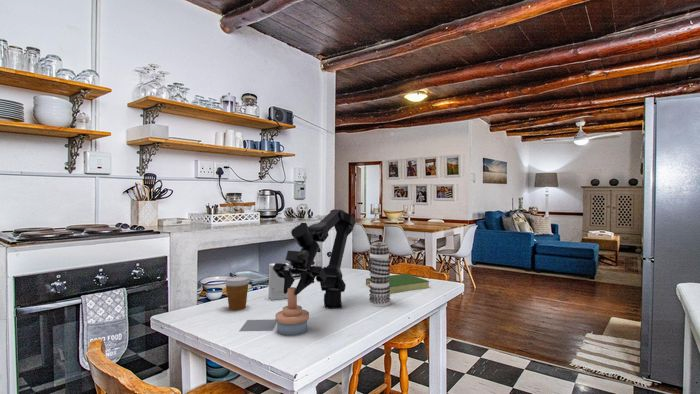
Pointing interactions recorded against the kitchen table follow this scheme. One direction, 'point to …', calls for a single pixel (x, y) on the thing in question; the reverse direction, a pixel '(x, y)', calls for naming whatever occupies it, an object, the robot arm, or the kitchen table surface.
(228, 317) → the kitchen table surface
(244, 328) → the mat
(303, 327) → the ramekin
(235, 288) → the disposable coffee cup
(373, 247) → the white patterned cylinder
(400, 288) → the hardcover book
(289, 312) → the lid
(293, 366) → the kitchen table surface
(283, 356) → the kitchen table surface
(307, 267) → the robot arm
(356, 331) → the kitchen table surface
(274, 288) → the skincare box
